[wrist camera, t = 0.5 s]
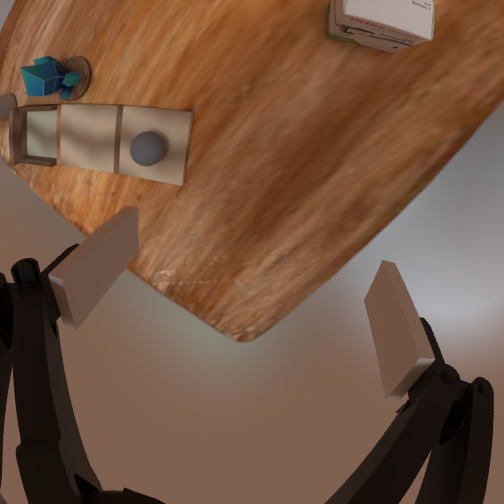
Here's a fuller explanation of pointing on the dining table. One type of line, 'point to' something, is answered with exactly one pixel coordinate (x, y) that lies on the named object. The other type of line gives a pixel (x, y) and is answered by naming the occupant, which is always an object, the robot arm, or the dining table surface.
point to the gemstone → (57, 77)
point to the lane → (100, 138)
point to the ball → (147, 148)
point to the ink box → (381, 22)
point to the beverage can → (6, 105)
